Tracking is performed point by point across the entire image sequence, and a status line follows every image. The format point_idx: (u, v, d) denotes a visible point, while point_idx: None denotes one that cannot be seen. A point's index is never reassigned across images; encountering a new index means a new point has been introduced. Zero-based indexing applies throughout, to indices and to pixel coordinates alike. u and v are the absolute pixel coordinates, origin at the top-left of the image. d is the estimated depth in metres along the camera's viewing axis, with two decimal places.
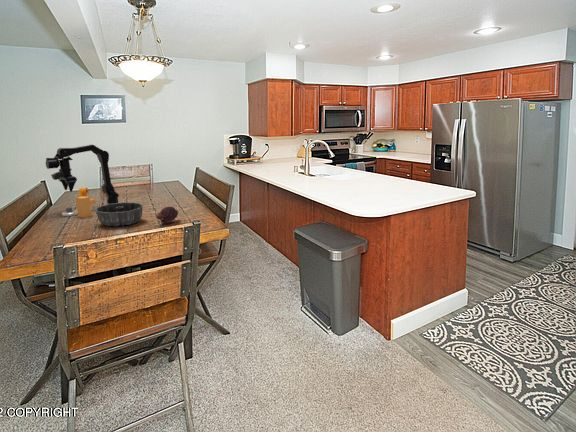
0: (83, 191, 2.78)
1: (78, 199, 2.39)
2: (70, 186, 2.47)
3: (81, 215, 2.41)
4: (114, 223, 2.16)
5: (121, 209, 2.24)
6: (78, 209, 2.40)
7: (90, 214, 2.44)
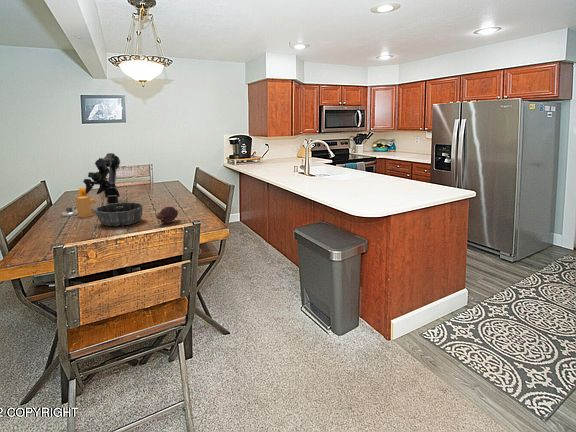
0: (83, 191, 2.78)
1: (78, 199, 2.39)
2: (100, 189, 2.47)
3: (81, 215, 2.41)
4: (114, 223, 2.16)
5: (121, 209, 2.24)
6: (78, 209, 2.40)
7: (90, 214, 2.44)
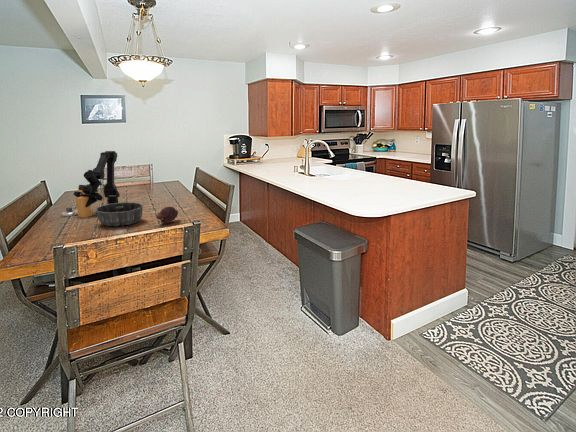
0: None
1: (78, 199, 2.39)
2: (89, 202, 2.41)
3: (81, 215, 2.41)
4: (114, 223, 2.16)
5: (121, 209, 2.24)
6: (78, 209, 2.40)
7: (90, 214, 2.44)
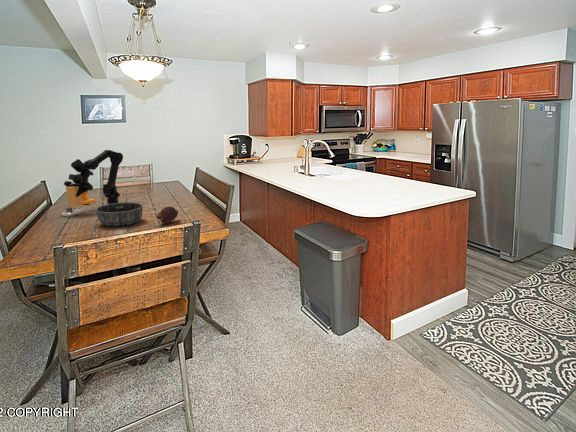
0: None
1: (68, 188, 2.39)
2: (79, 192, 2.42)
3: (71, 204, 2.42)
4: (114, 223, 2.16)
5: (121, 209, 2.24)
6: (69, 198, 2.41)
7: (80, 204, 2.45)
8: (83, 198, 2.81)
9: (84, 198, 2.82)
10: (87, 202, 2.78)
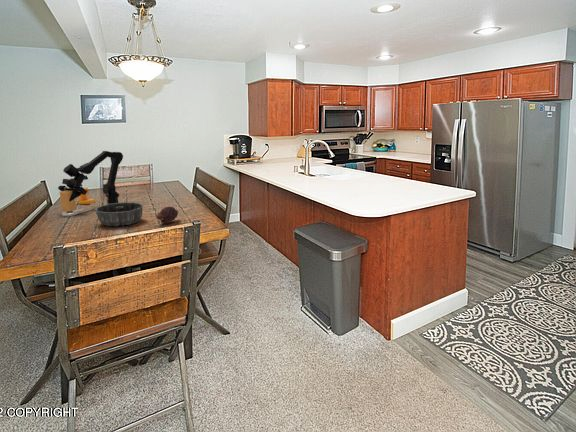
0: None
1: (62, 193, 2.42)
2: (73, 196, 2.44)
3: (65, 208, 2.44)
4: (114, 223, 2.16)
5: (121, 209, 2.24)
6: (62, 202, 2.44)
7: (74, 208, 2.48)
8: (83, 198, 2.81)
9: (84, 198, 2.82)
10: (87, 202, 2.78)
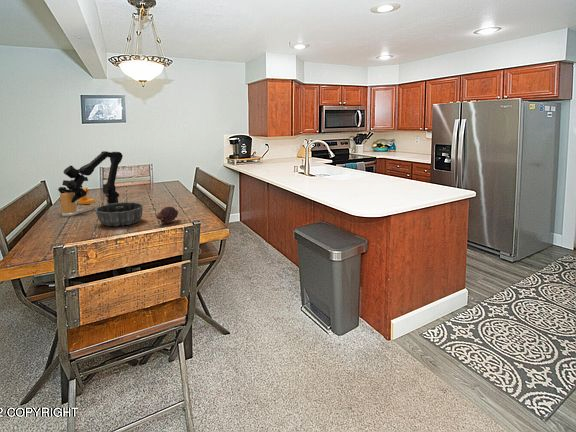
0: None
1: (62, 195, 2.42)
2: (75, 198, 2.44)
3: (65, 211, 2.45)
4: (114, 223, 2.16)
5: (121, 209, 2.24)
6: (62, 205, 2.44)
7: (74, 210, 2.48)
8: (83, 198, 2.81)
9: (84, 198, 2.82)
10: (87, 202, 2.78)
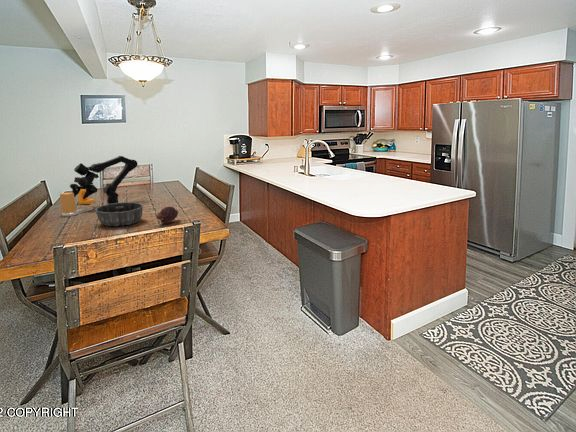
0: (83, 191, 2.78)
1: (62, 195, 2.42)
2: (86, 194, 2.53)
3: (65, 211, 2.45)
4: (114, 223, 2.16)
5: (121, 209, 2.24)
6: (62, 205, 2.44)
7: (74, 210, 2.48)
8: None
9: None
10: (87, 202, 2.78)
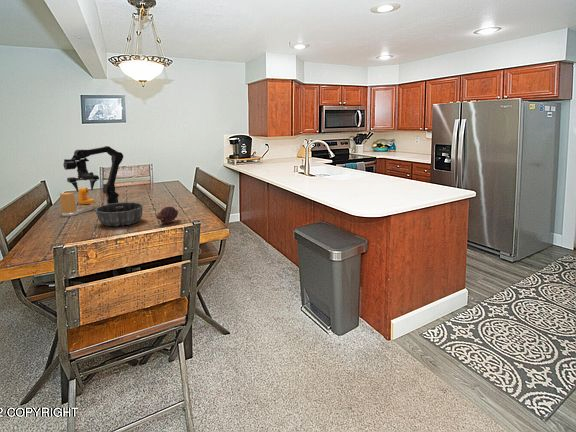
0: (83, 191, 2.78)
1: (62, 195, 2.42)
2: None
3: (65, 211, 2.45)
4: (114, 223, 2.16)
5: (121, 209, 2.24)
6: (62, 205, 2.44)
7: (74, 210, 2.48)
8: (83, 198, 2.81)
9: (84, 198, 2.82)
10: (87, 202, 2.78)
